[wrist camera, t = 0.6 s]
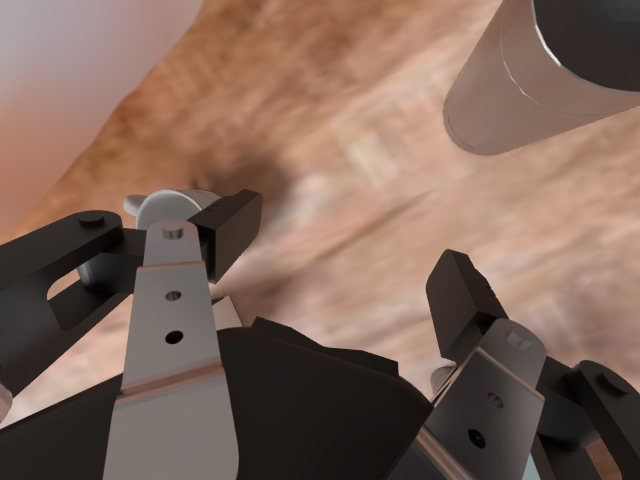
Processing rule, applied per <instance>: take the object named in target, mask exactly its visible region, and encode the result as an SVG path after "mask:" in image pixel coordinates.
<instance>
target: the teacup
mask: <svg viewBox="0 0 640 480" xmlns="http://www.w3.org/2000/svg"><path fill="white" fill-rule="evenodd" d="M220 198H222V197H220V196H219V195H217V194H215V193H212V192H209V191H205V190H193V189H190V190H173V189H164V190H159V191H156V192H154V193H152V194H150V195H149V196H144V195H130V196H127V197H126V198H125V200H124V209H125V210H126V211H127V212H128V213H130V214H132V215H134V216H137V217H136V229H139V230H147V229H148V228H149V227H150V226H151V225H152V224H154V223H156V222H159V221H163V220H171V219H177V220H185V221H186V220H187V219H189V218H190V217H192V216H193V215H195V214H196V213H198V212H200V211H201V210H203V209H205V208H206V207H207V206H209V205H211V204H212V203H213V202H215V201H216V200H218V199H220Z"/></svg>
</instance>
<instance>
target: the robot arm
mask: <svg viewBox="0 0 640 480" xmlns="http://www.w3.org/2000/svg"><path fill="white" fill-rule="evenodd" d="M639 105H640V0H503V2H502V3H501V5H500V7H499V8H498V10H497V12H496V13H495V15H494V17H493V18H492V20H491V22H490V23H489V25H488V27H487V28H486V30H485V32H484V33H483V35H482V37H481V38H480V40H479V42H478V43H477V45H476V47H475V48H474V50H473V52H472V53H471V55H470V57H469V58H468V60H467V62H466V63H465V65H464V66H463V68H462V70H461V71H460V73H459V75H458V76H457V78H456V80H455V81H454V83H453V85H452V87H451V88H450V90H449V92H448V94H447V97H446V100H445V104H444V111H443V116H444V124H445V127H446V130H447V133H448V134H449V136H450V137H451V139H452V140H453V141H454V142H455V143H456V144H457V145H458V146H459V147H461V148H462V149H464V150H466V151H468V152H471V153H474V154H478V155H496V154H501V153H504V152H508V151H511V150H514V149H516V148H519V147H522V146H526V145H529V144H531V143H534V142H537V141H540V140H543V139H546V138H549V137H551V136H554V135H557V134H560V133H563V132H566V131H569V130H572V129H574V128H577V127H580V126H583V125H586V124H589V123H592V122H594V121H597V120H600V119H603V118H606V117H609V116H612V115H615V114H617V113H620V112H623V111H626V110H629V109H631V108H634V107H637V106H639ZM261 208H262V194H261V193H257V192H254V191H250V190H247V189H243V190H241V191H240V192H239V193H237V194H236V195H234V196H233V197H232V196H228V197H224V198H220V199H218V200H216V201H215V202H213V203H212V204H211V205H209V206H207V207H206V208H205V209H203V210H201V211H200V212H198V213H196V214H195V215H193V216H192V217H190V218H189V219H187V220H186V221H185V220H177V219H171V220H163V221H159V222H156V223H154V224H152V225H151V226H150V227H149V228H148V229H147V230H139V229H129V228H123V225H122V220H121V217H120V216H119V215H118V214H116V213H113V212H110V211H103V210H92V211H84V212H79V213H75V214H72V215H70V216H67V217H65V218H63V219H60V220H58V221H56V222H53V223H51V224H49V225H47V226H44V227H42V228H40V229H37V230H35V231H33V232H30V233H28V234H26V235H24V236H21V237H19V238H17V239H14V240H12V241H10V242H7V243H5V244H3V245H1V246H0V423H1V422H2V421H3V420H4V418H5V417H6V416H7V414H8V412H9V410H10V408H11V405H12V400H13V398H14V397H15V396H17V395H18V394H19V393H20V392H21V391H22V390H23V389H24V388H26V387H27V386H28V385H29V384H30V383H31V382H32V381H33V380H35V379H36V378H37V377H38V376H39V375H40V374H41V373H42V372H44V371H45V370H46V369H47V368H48V367H49V366H50V365H51V364H53V363H54V362H55V361H56V360H57V359H58V358H59V357H60V356H62V355H63V354H64V353H65V352H66V351H67V350H68V349H69V348H71V347H72V346H73V345H74V344H75V343H76V342H77V341H78V340H80V339H81V338H82V337H83V336H84V335H85V334H86V333H87V332H89V331H90V330H91V329H92V328H93V327H94V326H95V325H96V324H98V323H99V322H100V321H101V320H102V319H103V318H104V317H105V316H106V315H108V314H109V313H110V312H111V311H112V310H113V309H114V308H115V307H117V306H118V305H119V304H120V303H121V302H122V301H123V300H124V299H126V298H127V297H128V296H129V295H130V294H134V296H133V304H132V311H131V319H130V326H129V334H128V342H127V349H126V357H125V365H124V372H123V373H121V374H119V375H117V376H114V377H112V378H110V379H108V380H106V381H104V382H101V383H99V384H97V385H95V386H93V387H91V388H88V389H86V390H84V391H82V392H80V393H78V394H75V395H73V396H71V397H69V398H67V399H65V400H62V401H60V402H58V403H56V404H54V405H52V406H49V407H47V408H45V409H43V410H41V411H39V412H36V413H34V414H32V415H30V416H28V417H26V418H23V419H21V420H19V421H17V422H15V423H12V424H10V425H8V426H6V427H4V428H2V429H0V480H522V479H523V475H524V472H525V468H526V465H527V461H528V458H529V454H530V453H531V456H532V459H533V461H534V464H535V467H536V469H537V472H538V475H539V477H540V480H601V478H600V476H599V474H598V472H597V471H596V469H595V467H594V465H593V463H592V461H591V459H590V457H589V456H588V454H587V452H586V450H585V448H584V447H585V446H587V445H589V444H591V443H592V442H594V441H596V440H598V439H600V438H602V440H603V442H604V443H605V445H606V447H607V449H608V450H609V452H610V454H611V455H612V457H613V459H614V460H615V462H616V464H617V465H618V467H619V469H620V471H621V474H622V480H640V394H639V393H638V392H637V391H636V390H635V389H634V388H633V387H632V386H631V385H630V384H629V383H628V382H627V381H626V380H624V379H623V378H622V377H620V376H619V375H618V374H616V373H615V372H613V371H612V370H610V369H608V368H607V367H605V366H603V365H601V364H599V363H596V362H593V361H589V360H583V361H581V362H580V363H579V364H577V365H576V366H575V367H574V368H570V367H568V366H566V365H564V364H562V363H560V362H558V361H556V360H554V359H552V358H550V357H549V356H547V352H546V349H545V347H544V345H543V343H542V342H541V341H540V340H539V339H538V337H537V336H535V335H534V334H533V333H532V332H531V331H530V330H528V329H527V328H525V327H524V326H522V325H521V324H519V323H517V322H514V321H512V320H509V318H508V316H507V314H506V313H505V311H504V309H503V307H502V306H501V304H500V302H499V300H498V299H497V298H496V295H495V293H494V292H493V290H491V287H490V285H489V283H488V281H487V280H486V278H485V277H484V276H483V275H482V274H481V273H480V272H479V271H478V270H477V269H475V268H474V266H473V264H472V262H471V260H470V258H469V257H468V255H467V254H464V253H460V252H457V251H454V250H450V249H446V250H445V251H444V252H443V254H442V255H441V257H440V259H439V260H438V262H437V264H436V266H435V267H434V269H433V271H432V273H431V274H430V276H429V278H428V280H427V284H426V294H427V298H428V302H429V307H430V311H431V315H432V320H433V324H434V328H435V332H436V337H437V341H438V345H439V349H440V354H441V357H442V358H445V359H448V360H452V361H455V362H456V365H457V366H456V367H455V368H454V369H453V370H452V372H451V373H450V374H449V375H448V377H447V378H446V379H445V381H444V382H443V383H442V385H441V386H440V387H439V389H438V390H437V391H436V393H435V394H434V395H433V397H432V398H431V399H430V401H429V400H428V399H427V398H426V397H425V396H424V395H423V394H422V393H421V392H420V391H419V390H418V389H417V388H415V387H414V386H413V385H412V384H411V383H409V382H408V381H407V380H405V379H404V378H402V377H401V376H399V372H398V362H397V361H394V360H390V359H387V358H384V357H381V356H378V355H375V354H372V353H369V352H366V351H363V350H351V349H340V348H328V347H324V346H322V345H320V344H318V343H316V342H315V341H313V340H311V339H310V338H308V337H306V336H305V335H303V334H301V333H299V332H298V331H296V330H294V329H293V328H291V327H288V326H285V325H282V324H279V323H276V322H273V321H270V320H266V319H263V318H260V317H256V319H255V321H254V323H253V324H252V326H251V327H246V326H245V327H230V328H225V329H221V330H217V331H216V327H215V321H214V315H213V309H212V303H211V297H210V291H209V285H208V282H209V283H213V284H216V283H217V282H218V281H219V280H220V279H221V277H222V276H223V275H224V274H225V273H226V272H227V270H228V269H229V268H230V267H231V266H232V265H233V263H234V262H235V261H236V260H237V259H238V258H239V256H240V255H241V254H242V253H243V252H244V251H245V249H246V248H247V247H248V246H249V245H250V244H251V242H252V241H253V240H254V239H255V237H256V236H257V233H258V230H259V226H260V217H261ZM76 268H77V270H78V273H79V276H80V279H79V280H78V281H76V282H75V283H73V284H72V285H70V286H69V287H67V288H66V289H64V290H63V291H61V292H60V293H58V294H57V295H56V296H54V297H53V298H51V299H50V300H47V293H48V290H49V288H50V287H51V285H52V284H53V283H54V282H55V281H57V280H58V279H60V278H61V277H63V276H65V275H66V274H68V273H69V272H71V271H72V270H74V269H76Z"/></svg>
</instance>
